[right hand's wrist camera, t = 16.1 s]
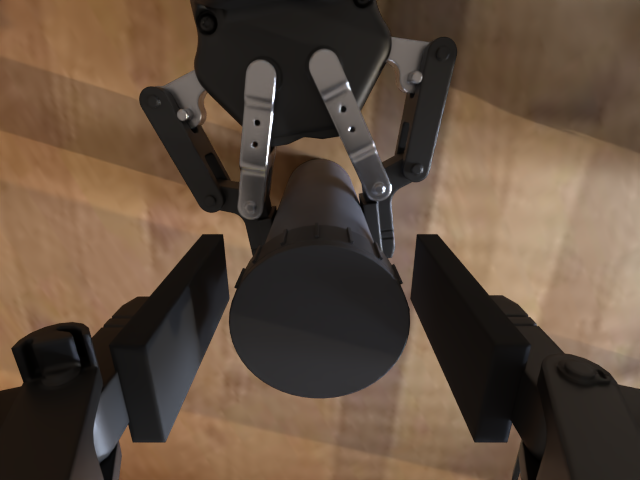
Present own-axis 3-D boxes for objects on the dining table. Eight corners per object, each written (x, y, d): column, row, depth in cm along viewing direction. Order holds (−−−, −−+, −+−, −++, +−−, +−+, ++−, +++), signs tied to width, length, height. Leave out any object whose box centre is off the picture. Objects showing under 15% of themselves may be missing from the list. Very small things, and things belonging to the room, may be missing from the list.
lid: (430, 318, 12) (445, 350, 11) (298, 387, 13) (296, 425, 12) (345, 188, 11) (350, 204, 9) (205, 278, 12) (187, 306, 10)
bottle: (301, 232, 26) (281, 389, 12) (276, 173, 25) (218, 275, 11) (361, 210, 26) (412, 347, 12) (339, 148, 24) (365, 220, 10)
